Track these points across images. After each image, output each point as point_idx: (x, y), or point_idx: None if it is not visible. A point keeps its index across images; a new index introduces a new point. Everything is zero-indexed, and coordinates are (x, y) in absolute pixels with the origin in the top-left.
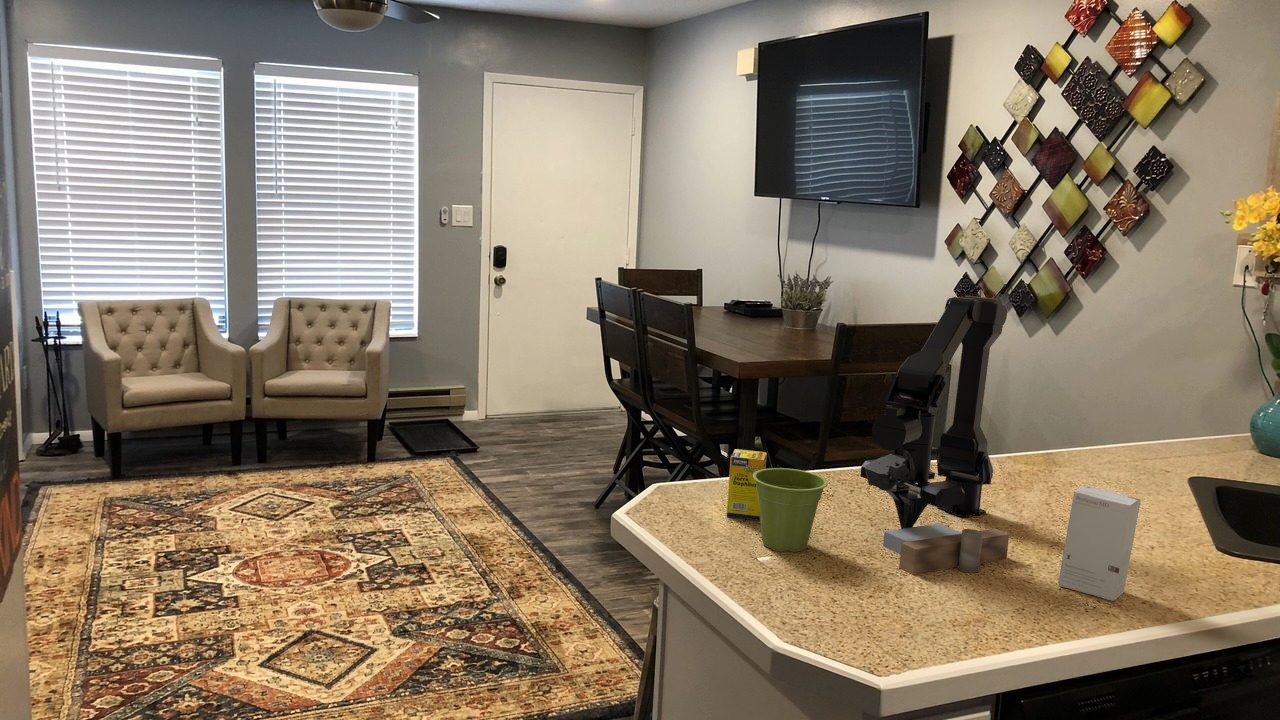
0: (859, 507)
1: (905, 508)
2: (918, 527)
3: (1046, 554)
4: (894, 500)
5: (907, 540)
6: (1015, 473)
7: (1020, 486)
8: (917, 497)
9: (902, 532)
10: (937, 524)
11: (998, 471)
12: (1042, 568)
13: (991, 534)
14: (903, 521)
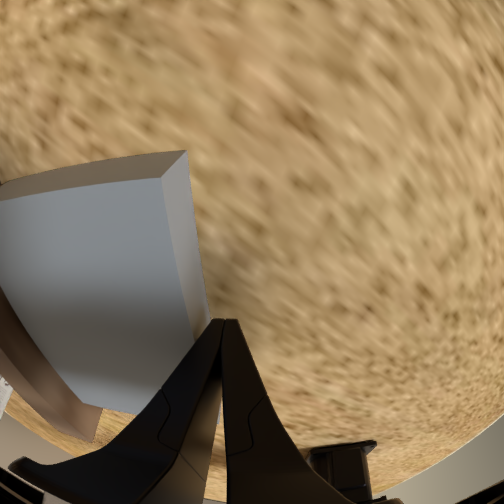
0: (498, 337)
1: (169, 425)
2: None
3: (104, 427)
4: (290, 455)
5: (19, 211)
6: (375, 483)
7: None
8: (45, 491)
9: (124, 270)
10: None
11: (389, 478)
12: None
13: (46, 415)
14: (212, 354)
